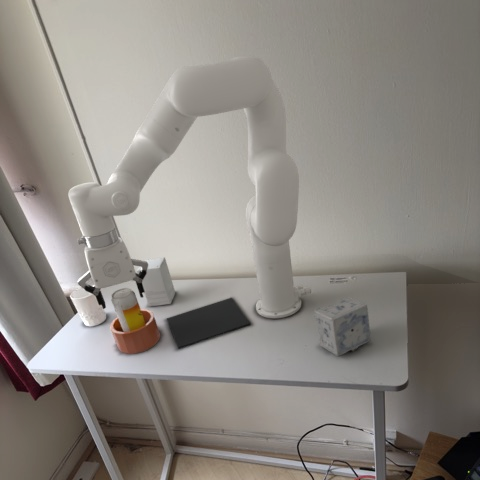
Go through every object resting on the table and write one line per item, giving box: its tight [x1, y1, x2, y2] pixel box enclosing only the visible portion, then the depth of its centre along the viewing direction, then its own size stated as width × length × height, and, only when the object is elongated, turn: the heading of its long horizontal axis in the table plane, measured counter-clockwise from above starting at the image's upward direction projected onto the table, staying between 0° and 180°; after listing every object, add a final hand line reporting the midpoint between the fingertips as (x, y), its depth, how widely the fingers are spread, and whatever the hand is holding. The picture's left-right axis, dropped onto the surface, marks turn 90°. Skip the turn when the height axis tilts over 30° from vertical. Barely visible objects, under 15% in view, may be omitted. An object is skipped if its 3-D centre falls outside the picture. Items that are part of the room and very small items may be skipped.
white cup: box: [69, 284, 107, 327], centre depth 125 cm, size 8×8×10 cm
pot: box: [109, 308, 161, 355], centre depth 113 cm, size 12×12×6 cm
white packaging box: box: [136, 256, 176, 307], centre depth 129 cm, size 7×7×13 cm
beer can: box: [110, 287, 146, 332], centre depth 110 cm, size 6×6×15 cm
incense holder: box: [314, 296, 372, 357], centre depth 96 cm, size 10×8×10 cm
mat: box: [166, 297, 251, 350], centre depth 116 cm, size 20×16×1 cm
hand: (123, 300), depth 108 cm, fingers open, 9 cm apart
